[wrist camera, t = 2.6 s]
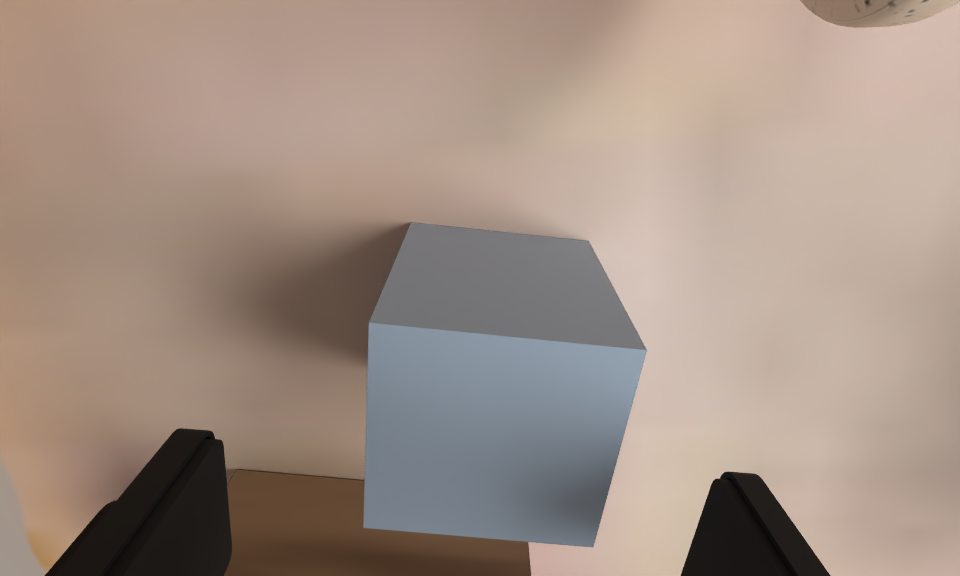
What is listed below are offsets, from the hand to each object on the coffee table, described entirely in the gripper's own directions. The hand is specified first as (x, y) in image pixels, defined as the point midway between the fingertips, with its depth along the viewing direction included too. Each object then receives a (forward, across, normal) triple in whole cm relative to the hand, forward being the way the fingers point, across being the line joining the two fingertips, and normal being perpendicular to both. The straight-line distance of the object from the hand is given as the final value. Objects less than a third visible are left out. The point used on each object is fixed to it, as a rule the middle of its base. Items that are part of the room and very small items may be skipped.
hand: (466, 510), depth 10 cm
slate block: (+7, 0, -1) cm, 7 cm away
